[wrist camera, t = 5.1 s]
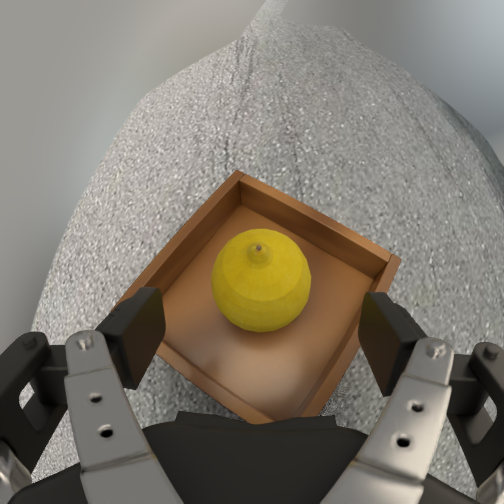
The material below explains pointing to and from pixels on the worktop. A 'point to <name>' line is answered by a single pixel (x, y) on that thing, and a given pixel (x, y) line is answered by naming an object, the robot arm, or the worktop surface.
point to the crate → (272, 342)
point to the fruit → (261, 280)
